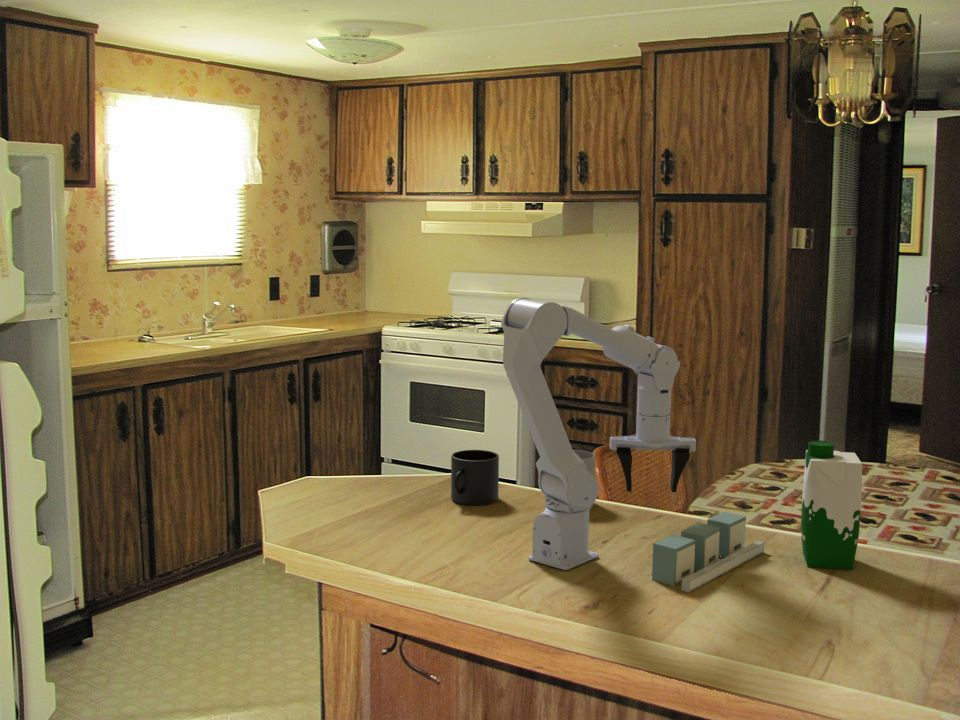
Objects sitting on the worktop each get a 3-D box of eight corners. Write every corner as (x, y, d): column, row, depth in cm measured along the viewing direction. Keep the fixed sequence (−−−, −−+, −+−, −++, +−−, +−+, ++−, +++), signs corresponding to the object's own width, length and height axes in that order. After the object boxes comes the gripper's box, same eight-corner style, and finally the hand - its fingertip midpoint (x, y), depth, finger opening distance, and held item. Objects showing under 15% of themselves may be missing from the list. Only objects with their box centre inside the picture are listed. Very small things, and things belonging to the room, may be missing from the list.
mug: (434, 504, 202) (434, 459, 201) (468, 490, 212) (468, 447, 211) (474, 512, 197) (475, 466, 196) (507, 497, 207) (507, 453, 206)
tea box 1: (675, 586, 159) (676, 549, 158) (651, 580, 162) (653, 543, 161) (695, 576, 164) (696, 540, 163) (672, 570, 167) (673, 534, 166)
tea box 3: (728, 559, 172) (730, 524, 171) (706, 553, 175) (707, 519, 174) (745, 550, 176) (747, 516, 175) (723, 545, 179) (724, 511, 178)
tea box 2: (704, 572, 166) (705, 536, 165) (679, 566, 168) (681, 531, 167) (719, 562, 170) (721, 527, 170) (695, 557, 173) (697, 522, 172)
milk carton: (796, 551, 176) (803, 436, 173) (852, 555, 174) (859, 439, 171) (801, 568, 168) (808, 448, 165) (860, 572, 166) (868, 451, 163)
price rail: (689, 592, 157) (689, 581, 156) (681, 590, 158) (681, 579, 157) (764, 552, 175) (765, 542, 175) (757, 550, 176) (757, 540, 176)
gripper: (613, 417, 173) (611, 496, 175) (700, 418, 172) (697, 497, 174) (609, 409, 180) (607, 484, 182) (693, 410, 179) (690, 486, 181)
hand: (651, 490), depth 178 cm, fingers open, 7 cm apart
